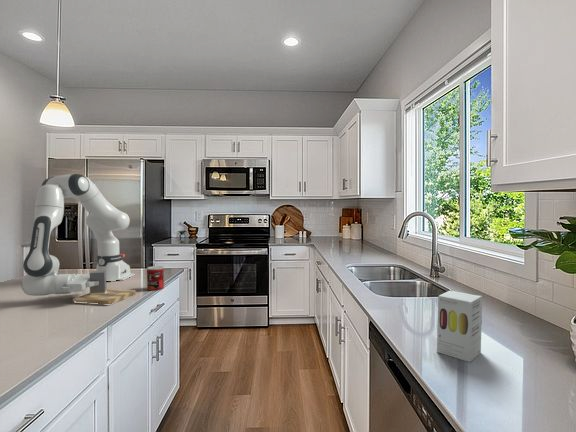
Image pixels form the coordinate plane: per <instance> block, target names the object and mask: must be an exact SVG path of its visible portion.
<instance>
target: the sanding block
mask: <svg viewBox="0 0 576 432" xmlns="http://www.w3.org/2000/svg"><path fill="white" fill-rule="evenodd" d="M89 274H90V282H94V281H99V285H97V286H91V287H89V293H90V295H99V294H105V293H106V292H107V289H108V287H107V282H106V271H96V270H94V271H90V272H89Z"/></svg>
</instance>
